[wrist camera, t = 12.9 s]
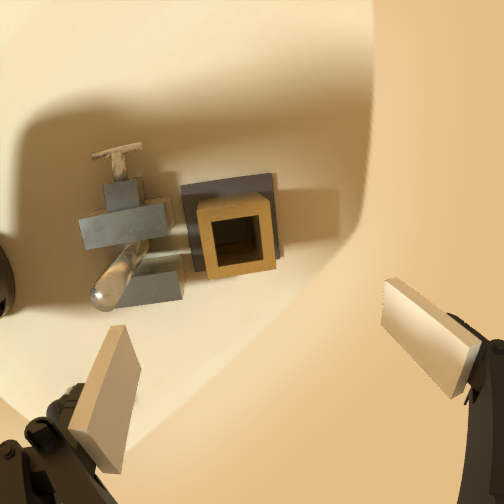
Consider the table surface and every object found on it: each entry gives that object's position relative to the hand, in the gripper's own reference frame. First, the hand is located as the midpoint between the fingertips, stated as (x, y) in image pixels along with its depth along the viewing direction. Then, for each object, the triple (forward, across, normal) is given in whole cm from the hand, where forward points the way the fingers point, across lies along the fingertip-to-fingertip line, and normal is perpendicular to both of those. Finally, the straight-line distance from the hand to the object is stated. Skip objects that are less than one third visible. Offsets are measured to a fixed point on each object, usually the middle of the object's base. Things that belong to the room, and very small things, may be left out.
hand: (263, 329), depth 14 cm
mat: (+25, +1, 0) cm, 25 cm away
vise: (+25, -11, +2) cm, 27 cm away
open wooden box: (+24, 0, 0) cm, 24 cm away
